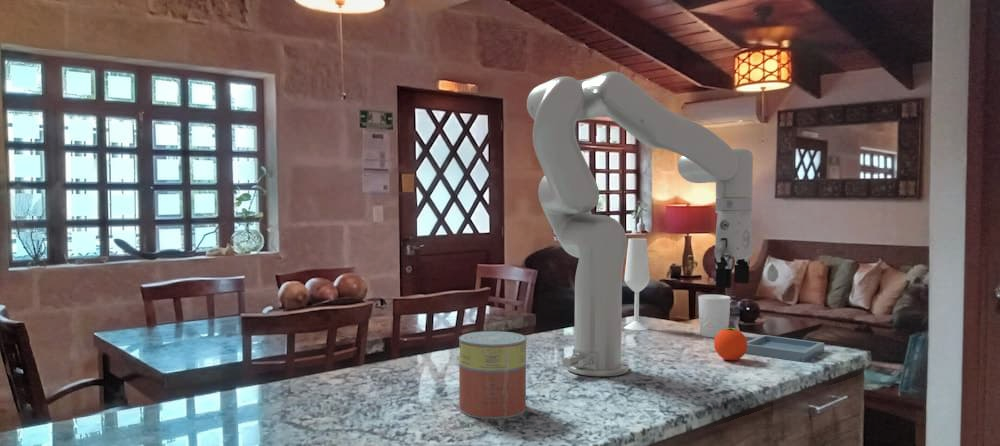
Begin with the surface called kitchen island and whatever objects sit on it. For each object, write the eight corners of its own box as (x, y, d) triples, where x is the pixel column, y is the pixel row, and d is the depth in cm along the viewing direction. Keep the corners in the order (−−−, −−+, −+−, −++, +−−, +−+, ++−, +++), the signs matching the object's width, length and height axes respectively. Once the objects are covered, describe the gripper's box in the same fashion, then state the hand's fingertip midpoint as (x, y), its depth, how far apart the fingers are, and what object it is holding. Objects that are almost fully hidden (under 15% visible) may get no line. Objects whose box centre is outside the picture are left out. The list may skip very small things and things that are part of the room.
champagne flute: (625, 324, 196) (626, 237, 196) (650, 326, 194) (651, 238, 193) (622, 329, 190) (623, 239, 189) (647, 330, 188) (648, 239, 187)
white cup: (726, 332, 186) (726, 294, 185) (733, 339, 178) (733, 299, 178) (695, 332, 187) (695, 294, 186) (700, 338, 179) (701, 298, 178)
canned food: (485, 395, 127) (485, 328, 127) (538, 406, 121) (539, 336, 120) (444, 410, 118) (445, 338, 118) (500, 423, 112) (501, 347, 111)
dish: (804, 362, 153) (804, 353, 153) (740, 352, 163) (740, 343, 162) (824, 351, 164) (824, 342, 164) (763, 343, 173) (763, 334, 173)
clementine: (719, 354, 161) (719, 322, 161) (751, 358, 157) (751, 325, 157) (710, 361, 154) (710, 328, 154) (743, 365, 151) (743, 331, 150)
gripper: (734, 207, 145) (733, 290, 146) (765, 205, 159) (764, 282, 159) (700, 206, 150) (699, 287, 151) (732, 205, 163) (731, 280, 164)
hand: (732, 285), depth 155 cm, fingers open, 9 cm apart
